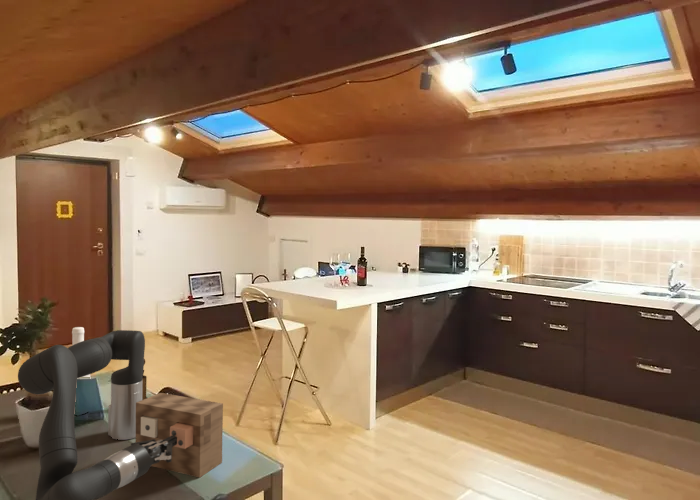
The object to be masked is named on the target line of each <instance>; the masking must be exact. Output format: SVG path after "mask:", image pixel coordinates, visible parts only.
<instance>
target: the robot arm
mask: <svg viewBox="0 0 700 500" xmlns="http://www.w3.org/2000/svg"><path fill="white" fill-rule="evenodd" d="M145 347H146V339H145V335H144V333H143V332H142V331H141V330H130V329H128V330H126V329H124V330H123V329H119V330H118V329H117V330H113V331H111V332H108V333H106V334H104V335H103V336H100V337H95V338H89V339H86V340H85V339H84V341H82V342H79V343H77V344H74V345H71V346H69V347H67V346H66V345H63V344H55V345H52V346H50V347H47V348H46V349H44V350H42V351H40V352H38V353H36V354H35V355H32V356H31V357H29V358H28V359H26V360H25V361H24V362H23V363H22V364H21V365H20V366H19V369H18V372H17V379H18V380H17V381H18V384H19V385H20V387H21V388H22V389H23V390H25V391H26V392H28V393H30V394H31V395H32V394H33V395H44V394H48V393H50V392H51V391H52V397H51V400H50V404H49V407H48V410H47V412H46V415H45V417H44V420H43V423H42V426H41V427H40V431H39V437H38V452H39V453H38V454H39V455H38V456H39V465H40V466H39V467H40V470H39V476H38V478H37V479H38V480H37V488H36V493H35V500H99V499H101V498H103V497H105V496H107V495H108V494H110V493H112V492H114V491H116V490H118V489H119V488H122V487H124V486H126V485H128V484H130V483H132V482H134V481H135V480H137V479H139V478H141V477H142V476H143V475H145V474H146V473H147V472H148V471H149V469H150V468H151V467H152V466H151V465H152V464H156V463H158V462H159V461H160V460H166V462H167V463H169V462H171V460H172V447H173V446H175V445H176V444H177V437H176V436H170V437H168V438H166V439H164V440H158V441H156V440H155V439H153V440H147V441H141V442H136V441H135V442H131V443H130V445H128V446H126V447H124V448H122V449H121V450H118V451H116V452H114V453H112V454H111V455H109V456H108V457H106V458H105V459H103V460H100V461H99V462H97V463H95V464H93V465H91V466H89V467H88V468H83V469H81V470H78V471H77V470H76V471H75V469H76V466H77V465H78V450H77V441H76V431H75V416H74V414H75V402H76V388H77V378H80V377H83V376H86V375H89V374H90V375H92V374H94V373H97V372H99V371H101V370H103V369H105V368H106V367H107V366H108V365H109V364H110V363H111V362H112V361H113V360H114V361H115V360H116V361H117V360H118V361H128V365H127V366H126V367H123V368H120V369H117V370H114V371H113V372H112V373H111V375H110V404H109V405H108V407H107V408H108V413H107V415H108V417H107V418H108V419H107V420H108V421H107V423H108V424H107V431H108V432H107V433H108V434H107V435H108V436H110V438H111V437H112V438H111V439H113V440H117V439H118V440H119V441H120V440H121V441H122V440H132V439H136V402H139V401H141V400H142V383H143V380H142V379H143V375H144V374H143V370H144V367H145V364H144V359H145ZM111 360H112V361H111ZM118 440H117V441H118Z"/></svg>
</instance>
